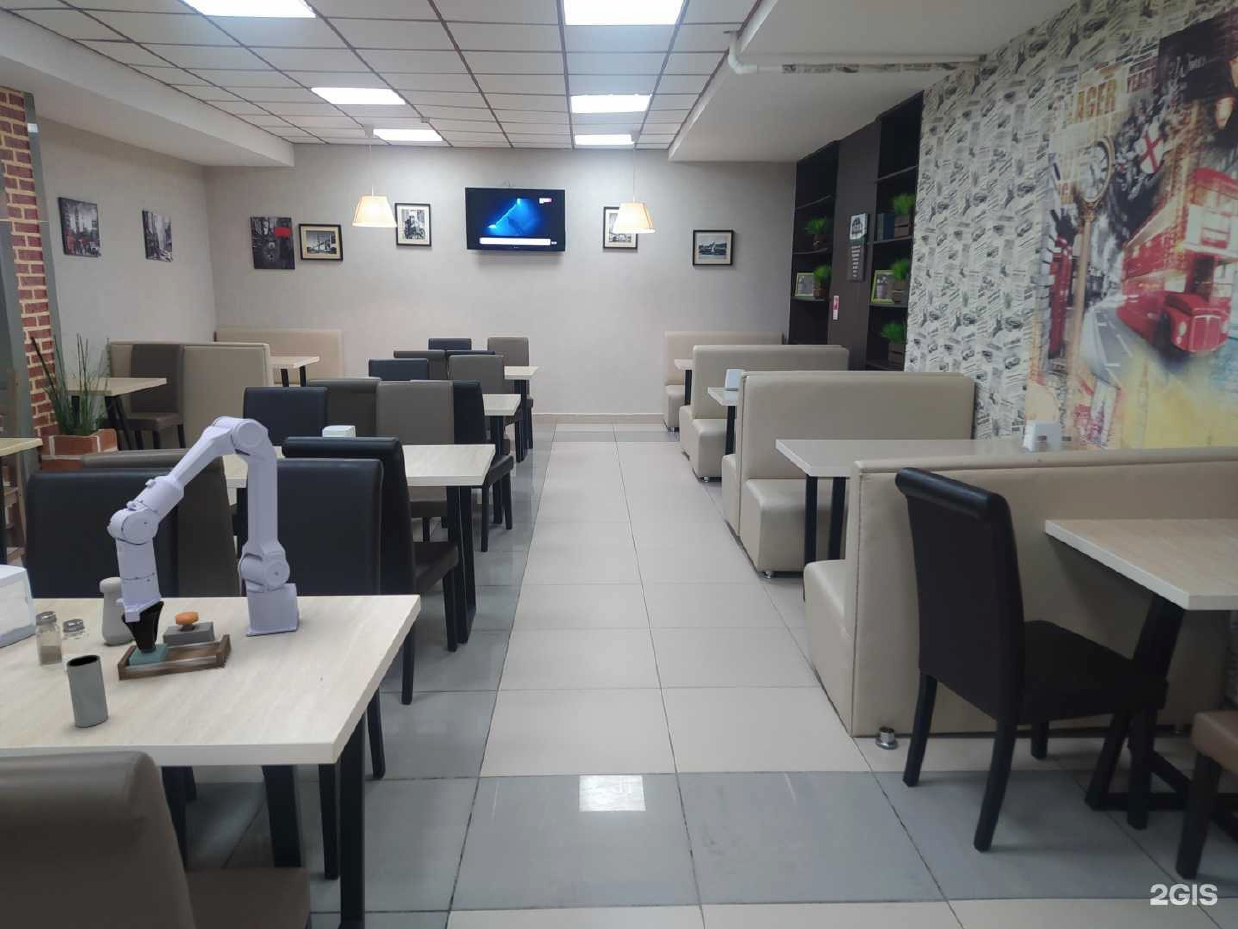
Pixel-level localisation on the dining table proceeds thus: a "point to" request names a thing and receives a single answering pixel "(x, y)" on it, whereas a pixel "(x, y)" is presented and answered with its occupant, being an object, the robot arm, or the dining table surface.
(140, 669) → the rail board
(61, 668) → the dining table surface
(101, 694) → the planter
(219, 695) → the dining table surface
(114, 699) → the dining table surface
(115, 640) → the salt shaker
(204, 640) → the grey rectangular block
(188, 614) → the button
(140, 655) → the blue block with peg
